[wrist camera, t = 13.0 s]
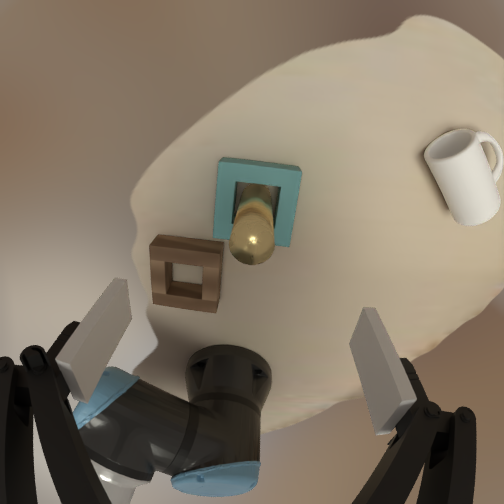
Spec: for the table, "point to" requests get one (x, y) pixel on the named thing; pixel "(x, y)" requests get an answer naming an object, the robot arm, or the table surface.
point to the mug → (466, 174)
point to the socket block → (258, 174)
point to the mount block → (189, 253)
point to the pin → (253, 226)
